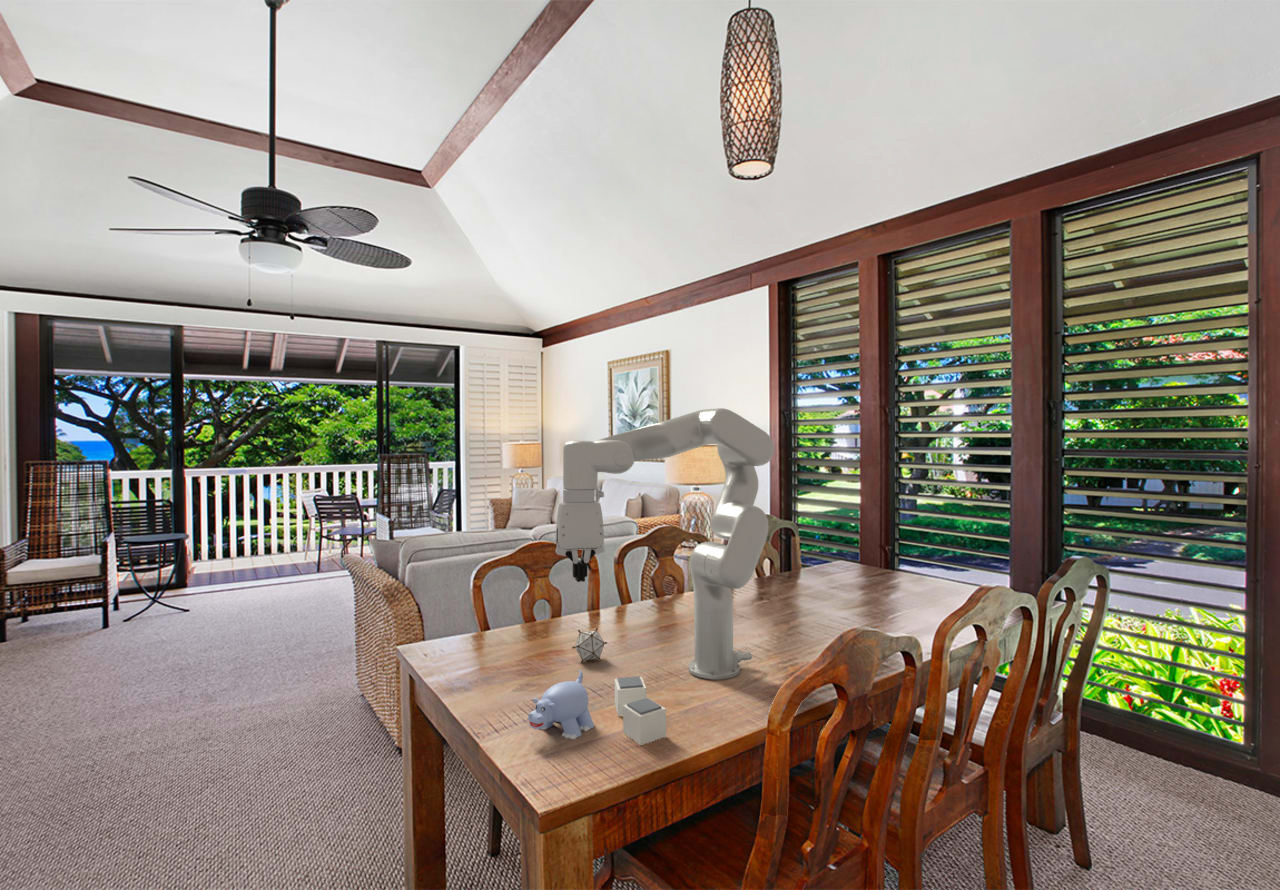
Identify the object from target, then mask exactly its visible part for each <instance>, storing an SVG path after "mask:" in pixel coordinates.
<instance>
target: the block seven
mask: <svg viewBox="0 0 1280 890" xmlns="http://www.w3.org/2000/svg"><path fill="white" fill-rule="evenodd" d="M622 719H623V721H622V726H623V727H622V728H623V729H622V730H623V731H622V732H623V733H624V735H625V734H626V735H627V736H626V735H625V736H626V737H628V738H629V737H630V738H631V740H632V739H633V740H634V741H635V743H636V742H637V743H638V744H639V745H638V744H637V743H636V744H637V745H638V746H640V745H642V746H644V745H643V744H645V743H647V744H650V743H652V741H653V742H656V741H658V740H657V739H659V740H661V739H660V738H662V739H664V738H667V709H666V708H665V707H664V706H662V705H660V704H659V703H658V702H656V701H654V700H652V699H651V698H649V697H646V698H645V699H642V700H638V701H635V702H632V703H628V704H627V705H623V716H622ZM663 737H664V738H663ZM630 738H629V739H630ZM633 740H632V741H633ZM655 740H656V741H655ZM634 741H633V742H634ZM649 742H650V743H649ZM645 745H646V744H645Z"/></svg>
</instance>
